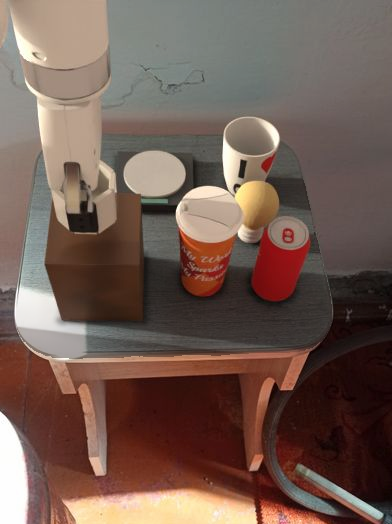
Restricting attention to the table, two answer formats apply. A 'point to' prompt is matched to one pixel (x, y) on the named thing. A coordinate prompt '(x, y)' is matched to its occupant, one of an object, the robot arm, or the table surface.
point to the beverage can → (280, 258)
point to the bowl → (94, 199)
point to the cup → (248, 151)
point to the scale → (155, 177)
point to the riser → (99, 267)
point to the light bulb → (256, 208)
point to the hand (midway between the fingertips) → (86, 203)
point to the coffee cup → (207, 237)
